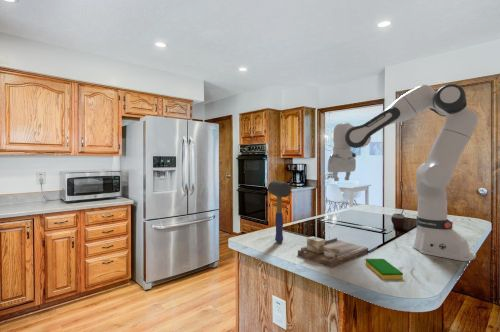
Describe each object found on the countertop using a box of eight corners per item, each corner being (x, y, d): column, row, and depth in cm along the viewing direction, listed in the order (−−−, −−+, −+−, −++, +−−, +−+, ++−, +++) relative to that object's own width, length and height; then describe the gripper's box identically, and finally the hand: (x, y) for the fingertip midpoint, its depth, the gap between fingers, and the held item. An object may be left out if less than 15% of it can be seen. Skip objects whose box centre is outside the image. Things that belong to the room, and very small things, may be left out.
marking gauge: (341, 256, 110) (341, 244, 109) (335, 259, 107) (335, 246, 107) (313, 247, 121) (313, 236, 120) (306, 249, 118) (307, 238, 118)
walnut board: (370, 253, 120) (370, 245, 120) (333, 268, 104) (333, 259, 104) (334, 243, 134) (334, 236, 134) (297, 255, 118) (297, 247, 118)
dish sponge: (383, 264, 109) (383, 258, 109) (403, 280, 95) (403, 273, 95) (365, 264, 109) (365, 258, 108) (382, 280, 95) (382, 273, 95)
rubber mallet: (292, 245, 131) (292, 181, 130) (278, 247, 129) (278, 182, 128) (279, 238, 143) (279, 179, 142) (266, 239, 140) (266, 180, 139)
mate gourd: (388, 227, 164) (388, 202, 163) (397, 226, 167) (398, 201, 166) (400, 230, 157) (400, 204, 156) (409, 228, 160) (409, 202, 160)
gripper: (335, 154, 137) (335, 182, 137) (358, 154, 150) (357, 180, 150) (324, 154, 142) (324, 181, 142) (347, 154, 155) (347, 179, 155)
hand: (341, 180), depth 146 cm, fingers open, 8 cm apart
